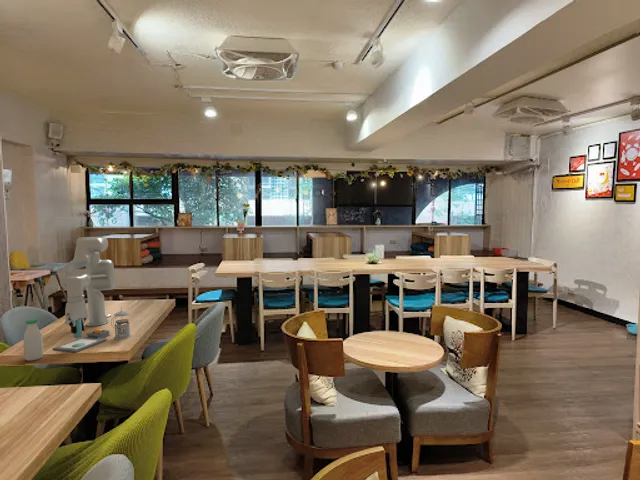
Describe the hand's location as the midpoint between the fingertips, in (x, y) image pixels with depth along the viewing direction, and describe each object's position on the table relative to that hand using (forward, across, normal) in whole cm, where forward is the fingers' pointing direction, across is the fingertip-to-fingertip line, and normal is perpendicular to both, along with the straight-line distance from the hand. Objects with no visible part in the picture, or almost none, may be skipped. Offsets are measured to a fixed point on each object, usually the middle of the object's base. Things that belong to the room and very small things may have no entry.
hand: (77, 331), depth 220 cm
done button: (+7, -17, -4) cm, 19 cm away
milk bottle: (+9, +19, -8) cm, 22 cm away
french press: (+9, -21, +9) cm, 25 cm away
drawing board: (+9, -3, -2) cm, 9 cm away
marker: (+3, 0, 0) cm, 3 cm away
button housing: (+9, -17, -4) cm, 20 cm away
